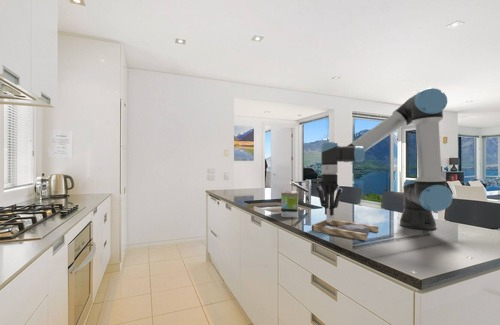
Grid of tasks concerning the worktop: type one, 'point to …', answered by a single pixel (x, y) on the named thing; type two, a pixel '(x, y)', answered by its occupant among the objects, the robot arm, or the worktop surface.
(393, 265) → the worktop surface
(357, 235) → the channel
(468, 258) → the worktop surface
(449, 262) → the worktop surface
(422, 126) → the robot arm
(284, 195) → the tea box
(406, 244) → the worktop surface
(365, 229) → the stone block
